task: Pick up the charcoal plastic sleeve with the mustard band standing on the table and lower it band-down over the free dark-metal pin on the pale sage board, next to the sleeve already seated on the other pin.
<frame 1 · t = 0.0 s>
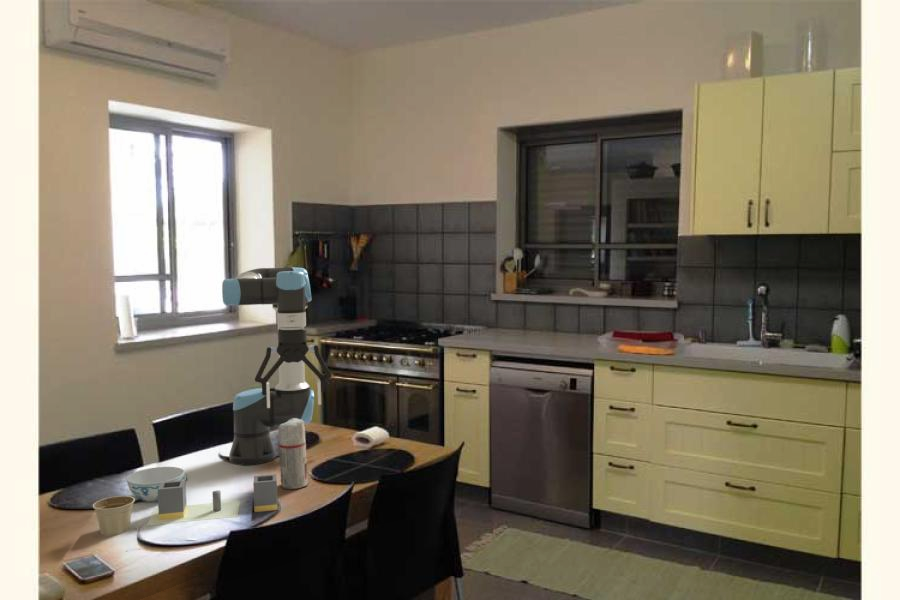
hand: (294, 405, 189), 28 cm above the table, fingers open, 13 cm apart
sleeve seated: (173, 514, 181), point 1 cm above the table, touching pin board
chinaware: (157, 502, 196), on the table
spray can: (294, 486, 208), on the table
sleeve: (266, 507, 190), on the table
flower pot: (115, 536, 172), on the table
pin board: (195, 517, 183), on the table
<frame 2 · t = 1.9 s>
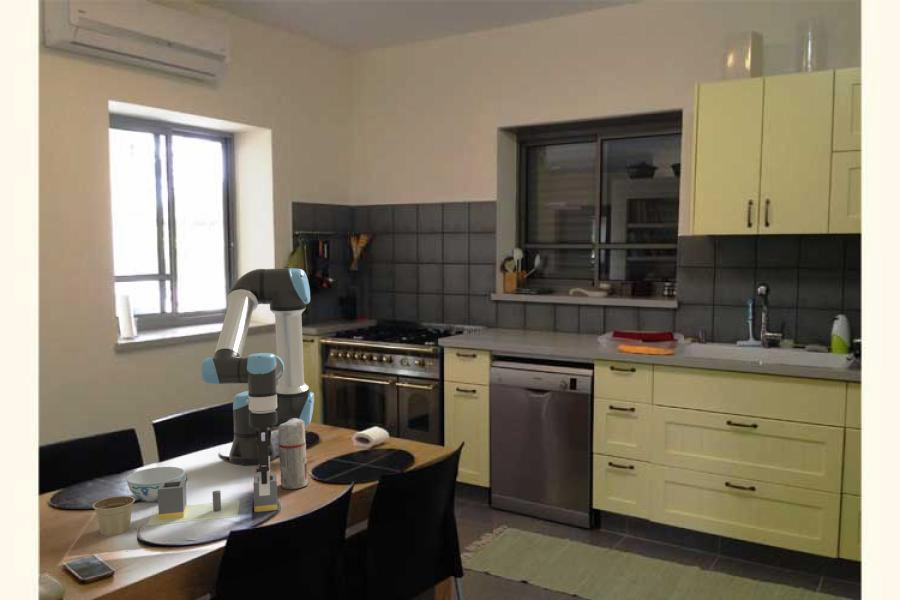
hand: (265, 487, 189), 6 cm above the table, fingers open, 13 cm apart
nothing on the table moved.
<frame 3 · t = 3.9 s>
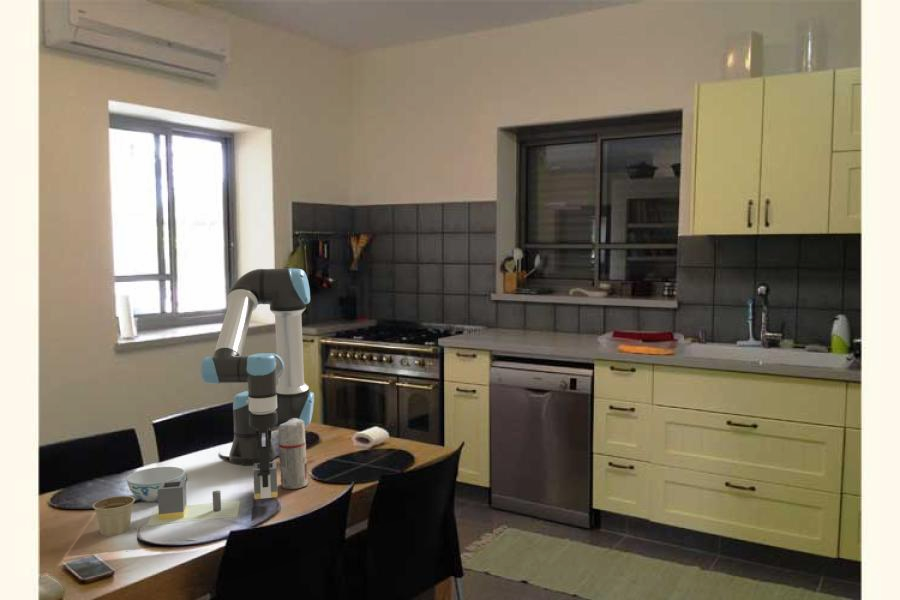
hand: (266, 493, 191), 4 cm above the table, fingers closed on sleeve, 6 cm apart
sleeve: (266, 494, 191), point 3 cm above the table, touching gripper
everything else where it was.
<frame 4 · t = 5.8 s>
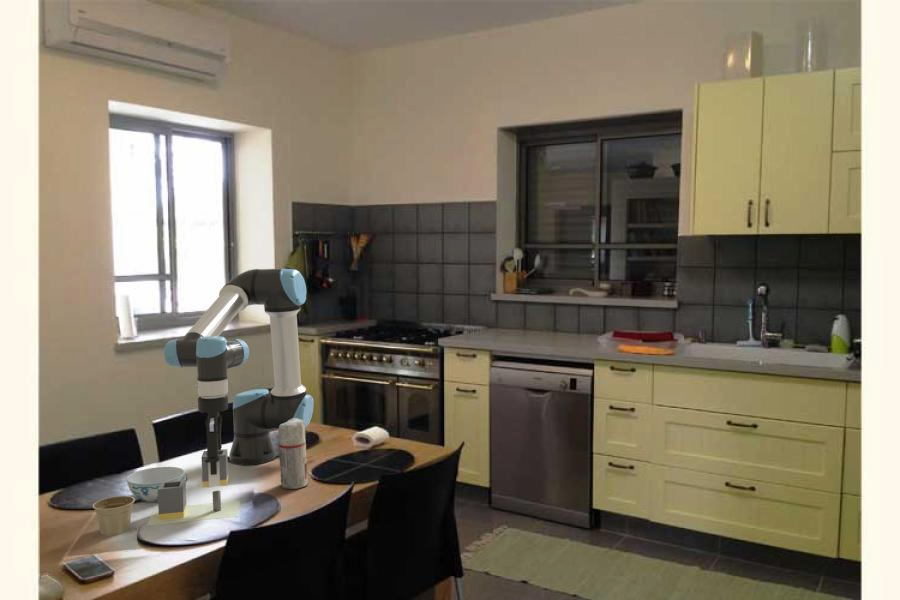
hand: (215, 481, 183), 9 cm above the table, fingers closed on sleeve, 6 cm apart
sleeve: (215, 482, 183), point 9 cm above the table, touching gripper
everything else where it was.
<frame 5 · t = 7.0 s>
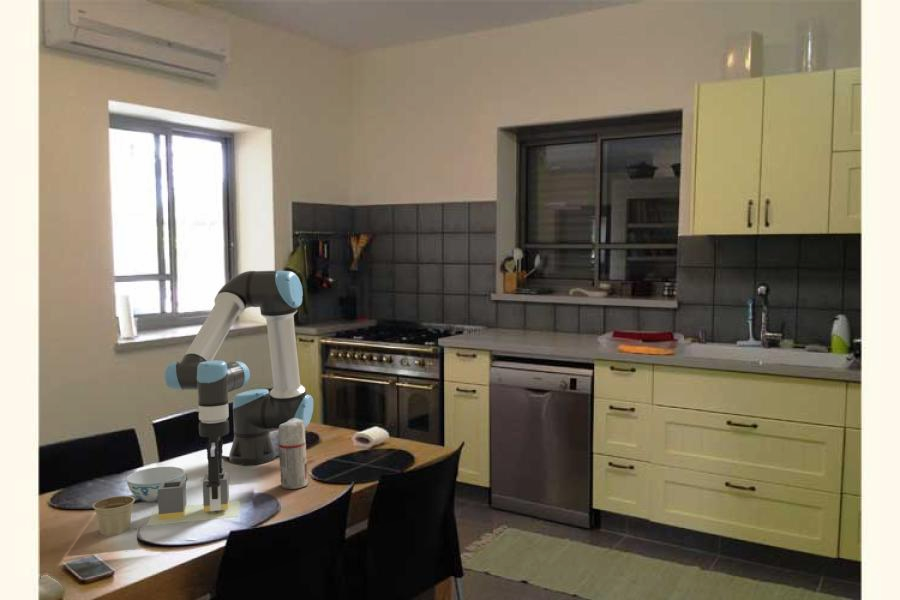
hand: (216, 505, 184), 3 cm above the table, fingers closed on sleeve, 6 cm apart
sleeve: (216, 506, 184), point 3 cm above the table, touching gripper
everything else where it was.
when the fingers open (2 cm above the table, at t = 7.5 s): sleeve stays where it is, resting on pin board.
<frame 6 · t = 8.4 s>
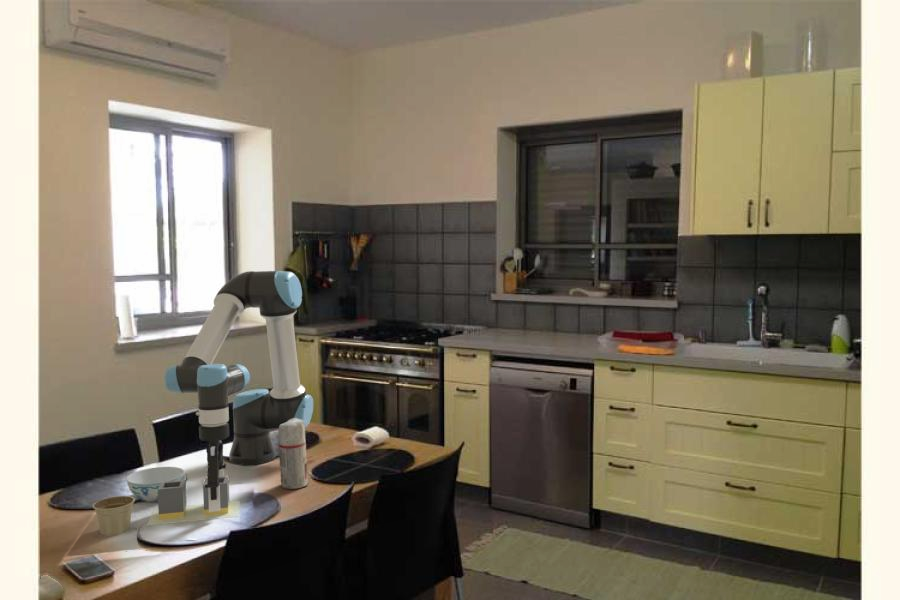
hand: (216, 502, 184), 4 cm above the table, fingers open, 13 cm apart
sleeve: (217, 510, 184), point 1 cm above the table, touching pin board
everything else where it was.
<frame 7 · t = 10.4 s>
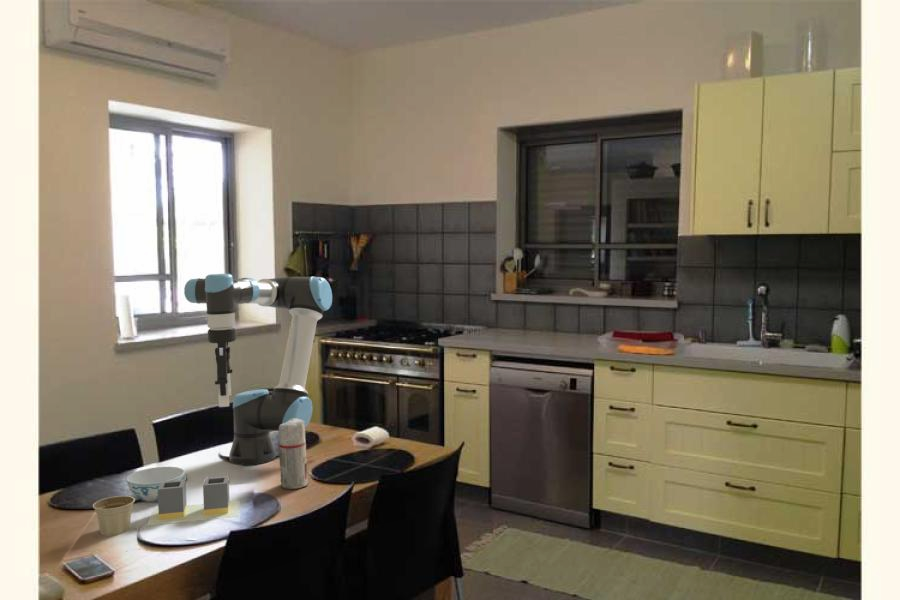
hand: (225, 401, 200), 27 cm above the table, fingers open, 13 cm apart
nothing on the table moved.
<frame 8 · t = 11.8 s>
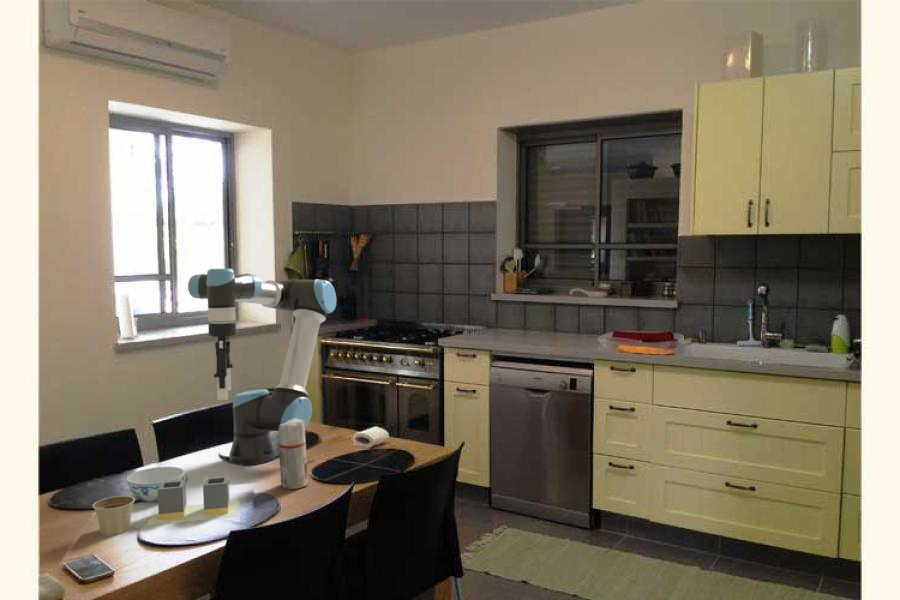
hand: (224, 394, 201), 29 cm above the table, fingers open, 13 cm apart
nothing on the table moved.
at the end: sleeve 0.0 cm from the target spot on the pin board, point 1.5 cm above the pin board's base; sleeve tilted 0°; the gripper is holding nothing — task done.
